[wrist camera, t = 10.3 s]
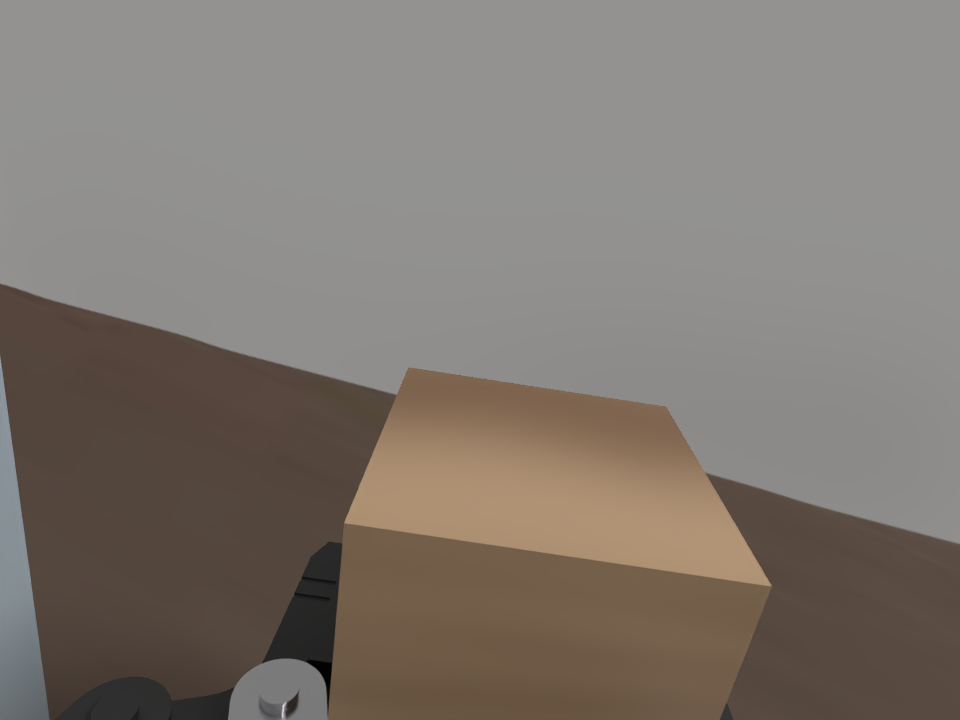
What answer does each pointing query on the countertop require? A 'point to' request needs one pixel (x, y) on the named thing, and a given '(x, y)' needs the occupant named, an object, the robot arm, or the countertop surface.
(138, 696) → the robot arm
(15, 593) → the screen
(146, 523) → the countertop surface
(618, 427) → the brown wooden block
